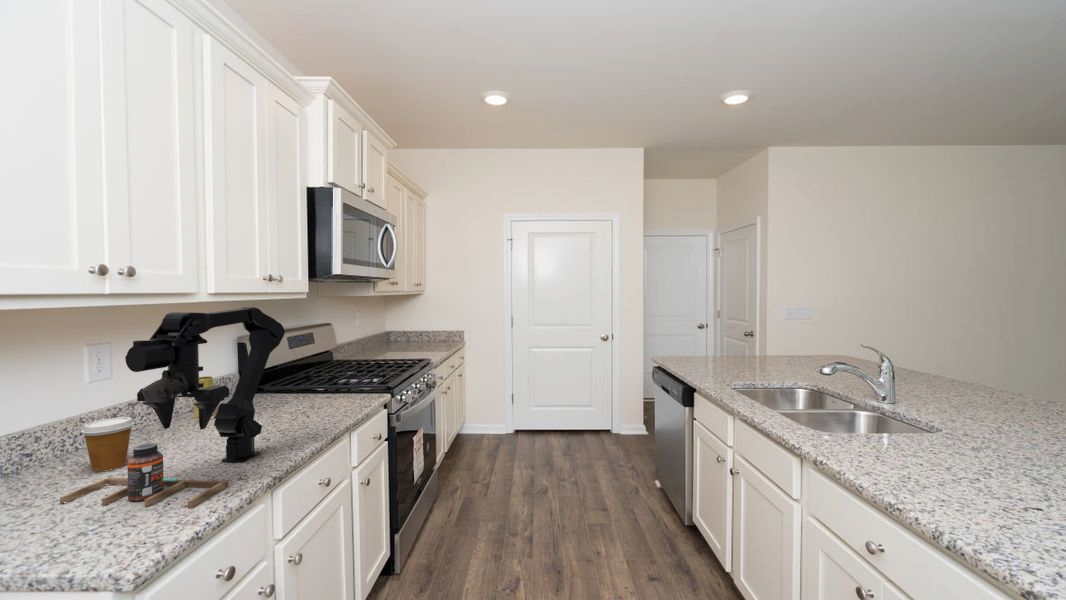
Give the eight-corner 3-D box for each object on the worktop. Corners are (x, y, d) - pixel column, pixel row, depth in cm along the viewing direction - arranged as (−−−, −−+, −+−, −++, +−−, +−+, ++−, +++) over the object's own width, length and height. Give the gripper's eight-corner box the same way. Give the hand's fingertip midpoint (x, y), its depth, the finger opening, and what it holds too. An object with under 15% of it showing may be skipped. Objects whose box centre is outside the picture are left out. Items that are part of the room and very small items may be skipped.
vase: (189, 417, 153) (188, 378, 153) (206, 412, 159) (206, 375, 159) (201, 418, 152) (200, 379, 151) (218, 414, 158) (218, 376, 157)
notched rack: (109, 482, 101) (109, 476, 101) (228, 486, 99) (228, 479, 99) (60, 504, 91) (59, 497, 91) (191, 508, 89) (191, 501, 89)
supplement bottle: (156, 499, 93) (155, 448, 92) (121, 504, 90) (120, 452, 90) (168, 487, 98) (167, 439, 98) (135, 492, 96) (135, 443, 96)
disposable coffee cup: (136, 466, 110) (135, 421, 110) (83, 478, 103) (82, 430, 103) (132, 457, 116) (131, 414, 116) (82, 468, 109) (81, 422, 109)
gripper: (111, 370, 93) (113, 439, 93) (190, 370, 92) (191, 441, 92) (159, 361, 104) (160, 424, 104) (230, 362, 103) (231, 425, 103)
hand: (184, 428), depth 101 cm, fingers open, 9 cm apart
